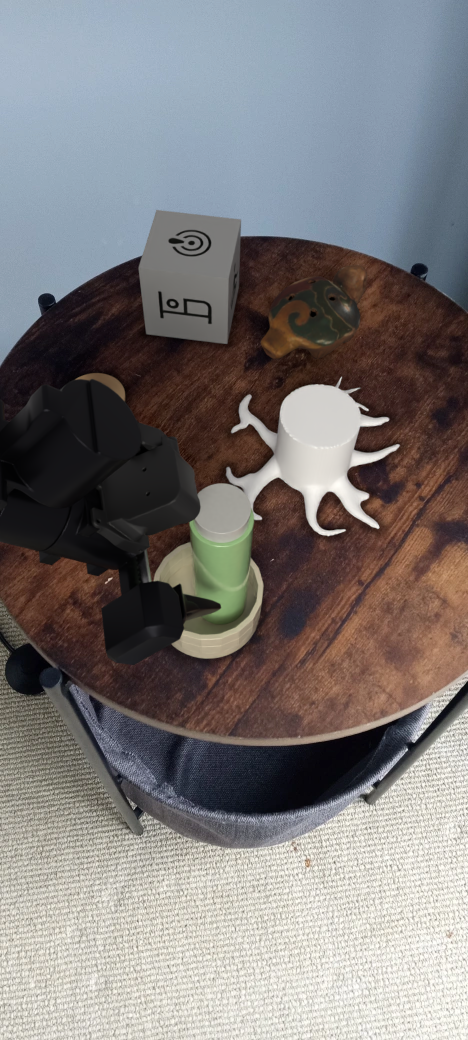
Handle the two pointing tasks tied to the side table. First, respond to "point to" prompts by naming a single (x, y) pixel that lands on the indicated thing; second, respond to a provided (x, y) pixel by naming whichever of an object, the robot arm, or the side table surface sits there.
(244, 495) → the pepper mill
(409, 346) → the side table surface
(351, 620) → the side table surface
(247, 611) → the bowl
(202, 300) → the icon cube
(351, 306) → the ocarina
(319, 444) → the tree stump
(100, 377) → the coaster
